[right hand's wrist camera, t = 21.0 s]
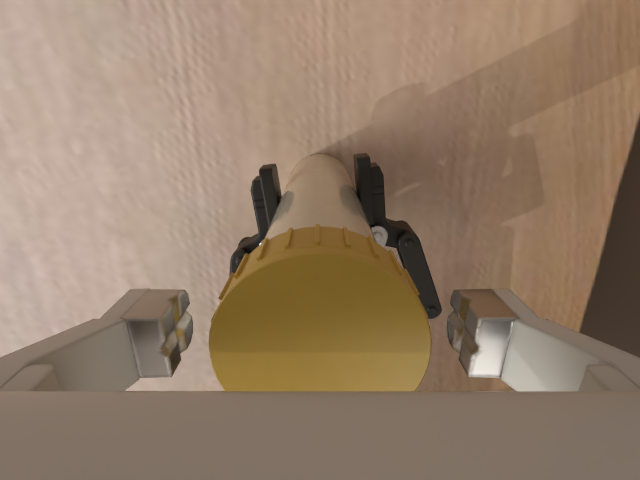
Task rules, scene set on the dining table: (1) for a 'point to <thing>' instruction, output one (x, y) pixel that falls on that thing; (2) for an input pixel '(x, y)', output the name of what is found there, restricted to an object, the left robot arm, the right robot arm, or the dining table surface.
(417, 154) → the dining table surface
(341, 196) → the bottle
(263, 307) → the lid
